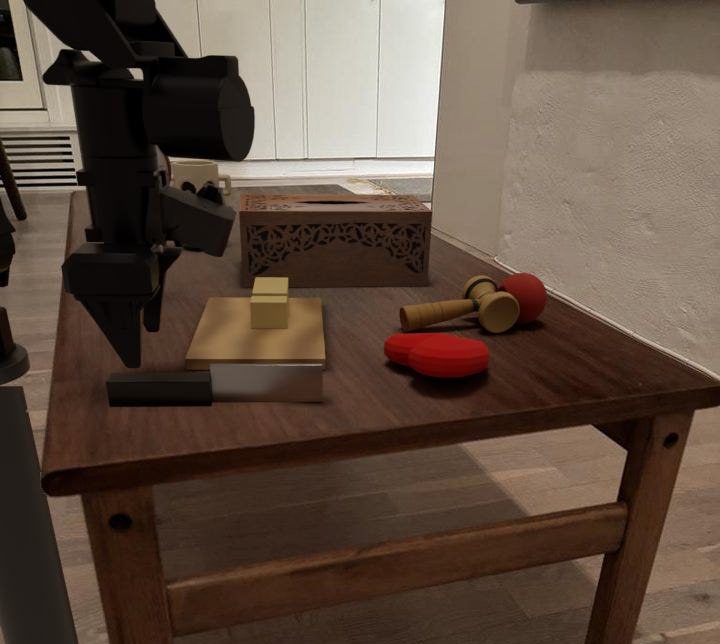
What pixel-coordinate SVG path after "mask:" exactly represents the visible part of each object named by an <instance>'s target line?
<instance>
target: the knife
mask: <svg viewBox="0 0 720 644" xmlns="http://www.w3.org/2000/svg"><path fill="white" fill-rule="evenodd" d="M323 371H324V370H323V364H210V370H209V372H179V373H178V372H149V373H148V372H146V373H145V372H144V373H143V372H141V373H140V372H139V373H138V372H135V373H134V372H133V373H132V372H130V373H129V372H126V373H125V372H123V373H122V372H119V373H113V372H112V373H110V374H109V377H107V380H106V381H105V387H106V393H107V398H108V399H107V400H108V406H109V408H172V407H173V408H178V407H179V408H182V407H183V408H186V407H189V408H190V407H191V408H193V407H196V408H197V407H212V406H213V403H215V404H216V403H223V404H225V403H227V404H229V403H323V402H324V400H323V399H324V397H323V396H324V395H323V393H324V390H323V386H324V383H323V381H324V380H323V377H324V375H323V374H324V373H323Z"/></svg>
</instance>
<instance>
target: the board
mask: <svg viewBox="0 0 720 644" xmlns="http://www.w3.org/2000/svg"><path fill="white" fill-rule="evenodd" d="M250 301H251V297H225V296H224V297H221V296H220V297H219V296H218V297H217V296H215V297H214V296H213V297H211V296H210V297H208V299H207V302H206V305H205V307H204V310H203V312H202V315H201V317H200V320H199V322H198V324H197V327H196V330H195V333H194V335H193V337H192V340H191V343H190V345H189V347H188V350H187V352H186V355H185V357H184V363H185V371H210V364H323V371H325V370H326V369H327V367H326V365H327V364H326V362H327V358H326V346H325V333H324V320H323V307H322V306H323V305H322V298H321V297H289V309H288V327H287V329H252V328H251V311H250Z"/></svg>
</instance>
